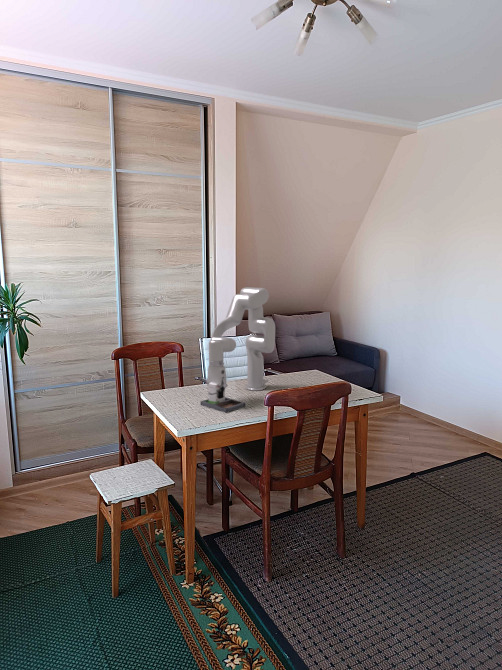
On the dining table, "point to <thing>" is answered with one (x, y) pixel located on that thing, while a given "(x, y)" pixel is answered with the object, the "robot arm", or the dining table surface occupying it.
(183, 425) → the dining table surface
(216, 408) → the rail frame
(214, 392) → the ink box
